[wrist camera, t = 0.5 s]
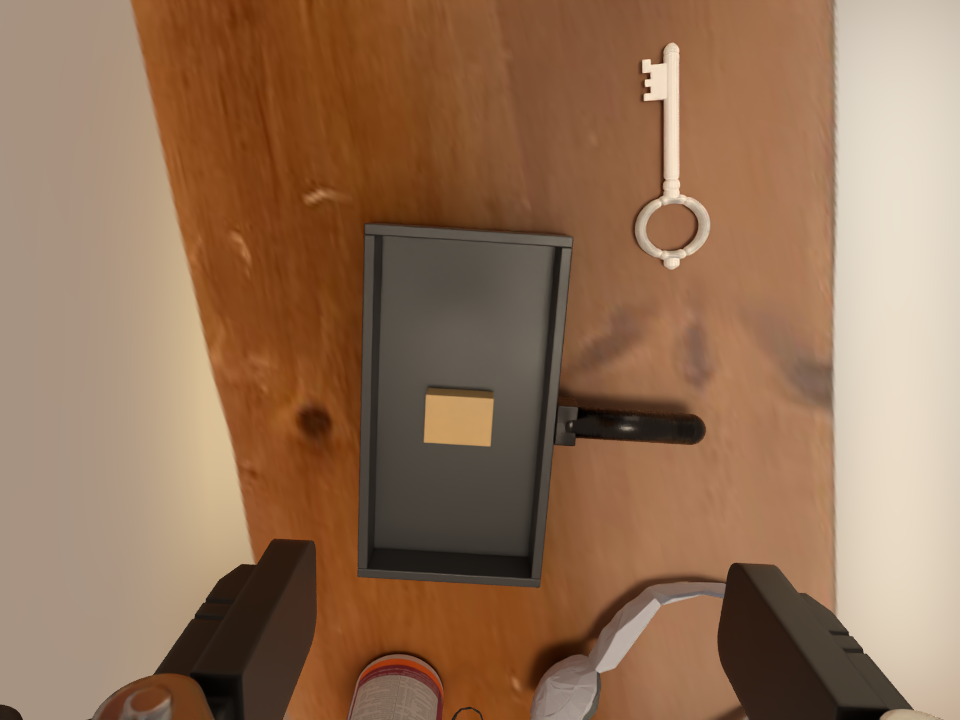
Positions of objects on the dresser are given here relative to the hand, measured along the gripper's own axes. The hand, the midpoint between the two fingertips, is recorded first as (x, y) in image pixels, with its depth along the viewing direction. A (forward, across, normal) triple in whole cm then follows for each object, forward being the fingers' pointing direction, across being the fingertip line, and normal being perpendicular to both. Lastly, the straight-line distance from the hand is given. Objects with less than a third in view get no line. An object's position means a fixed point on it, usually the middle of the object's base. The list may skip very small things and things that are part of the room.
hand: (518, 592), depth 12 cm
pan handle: (+25, -8, +5) cm, 27 cm away
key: (+27, -9, -10) cm, 30 cm away
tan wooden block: (+26, +2, +6) cm, 26 cm away
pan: (+26, +2, +5) cm, 27 cm away
